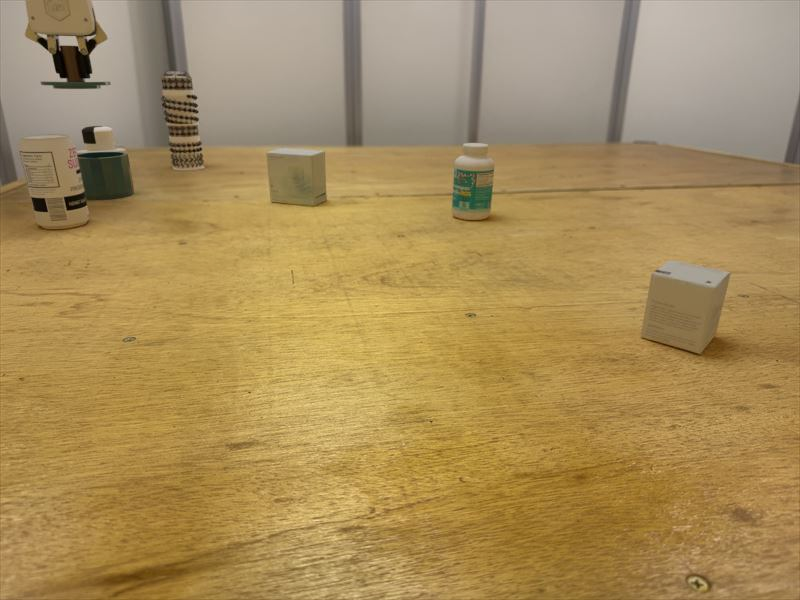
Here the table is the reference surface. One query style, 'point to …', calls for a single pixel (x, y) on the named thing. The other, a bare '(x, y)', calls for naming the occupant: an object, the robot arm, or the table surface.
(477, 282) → the table surface
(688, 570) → the table surface
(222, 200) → the table surface
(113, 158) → the storage jar
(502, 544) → the table surface
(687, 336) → the white cardboard box
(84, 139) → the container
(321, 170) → the cosmetics box
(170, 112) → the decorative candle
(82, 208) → the supplement can
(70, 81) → the jar lid
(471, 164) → the pill bottle
